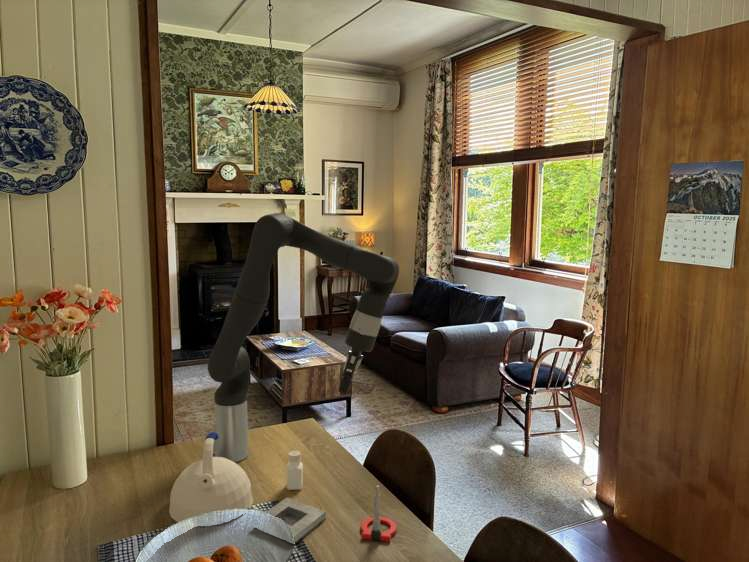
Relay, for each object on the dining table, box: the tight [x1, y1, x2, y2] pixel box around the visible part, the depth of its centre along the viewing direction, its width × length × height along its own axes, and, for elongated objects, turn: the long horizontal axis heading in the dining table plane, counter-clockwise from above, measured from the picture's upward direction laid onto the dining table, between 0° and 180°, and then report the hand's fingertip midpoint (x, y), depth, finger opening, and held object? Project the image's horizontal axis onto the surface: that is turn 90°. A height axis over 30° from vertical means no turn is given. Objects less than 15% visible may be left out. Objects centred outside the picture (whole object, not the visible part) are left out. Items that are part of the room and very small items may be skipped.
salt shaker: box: [286, 450, 304, 491], centre depth 150 cm, size 4×4×10 cm
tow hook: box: [360, 485, 398, 543], centre depth 132 cm, size 8×13×9 cm
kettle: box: [168, 431, 254, 523], centre depth 141 cm, size 20×21×18 cm
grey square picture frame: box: [265, 497, 327, 543], centre depth 134 cm, size 12×12×2 cm
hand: (344, 388), depth 148 cm, fingers open, 8 cm apart
